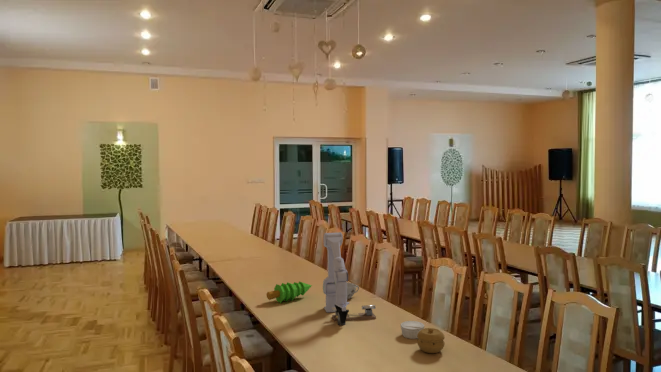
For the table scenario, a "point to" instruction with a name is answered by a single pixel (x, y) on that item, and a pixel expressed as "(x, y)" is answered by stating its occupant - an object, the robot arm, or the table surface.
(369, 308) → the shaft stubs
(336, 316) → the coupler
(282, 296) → the decorative tree
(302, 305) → the table surface
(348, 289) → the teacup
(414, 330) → the ramekin
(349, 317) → the shaft board
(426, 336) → the pot
